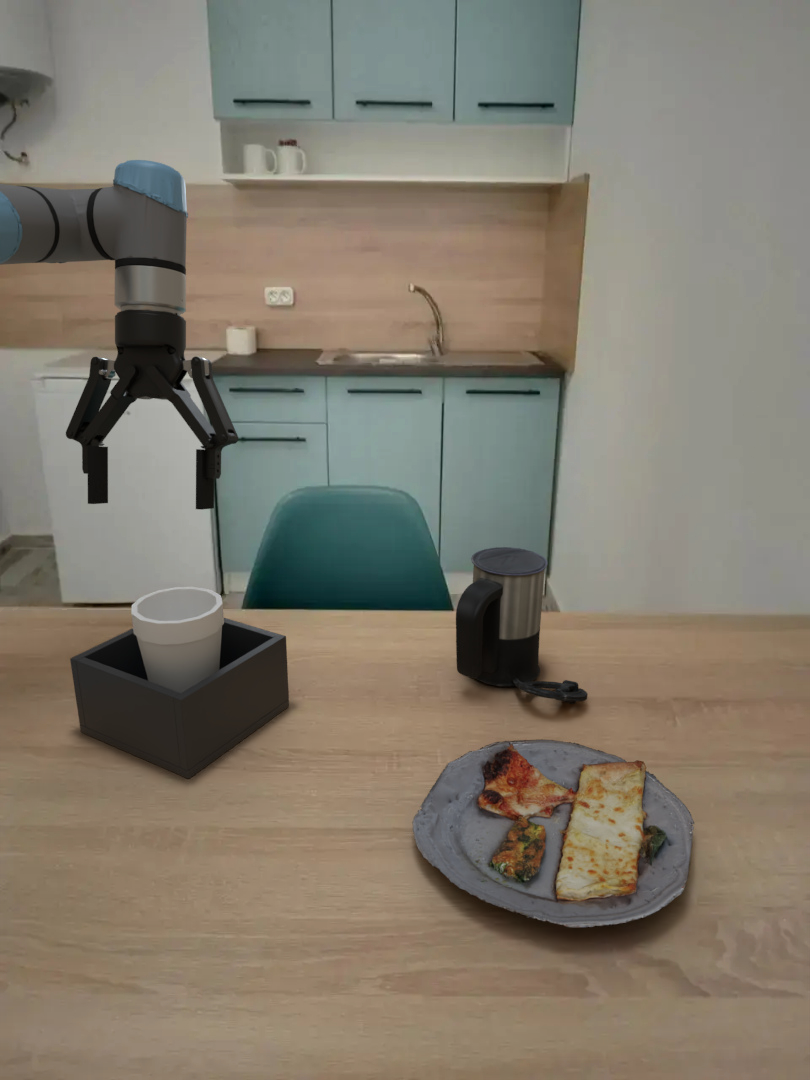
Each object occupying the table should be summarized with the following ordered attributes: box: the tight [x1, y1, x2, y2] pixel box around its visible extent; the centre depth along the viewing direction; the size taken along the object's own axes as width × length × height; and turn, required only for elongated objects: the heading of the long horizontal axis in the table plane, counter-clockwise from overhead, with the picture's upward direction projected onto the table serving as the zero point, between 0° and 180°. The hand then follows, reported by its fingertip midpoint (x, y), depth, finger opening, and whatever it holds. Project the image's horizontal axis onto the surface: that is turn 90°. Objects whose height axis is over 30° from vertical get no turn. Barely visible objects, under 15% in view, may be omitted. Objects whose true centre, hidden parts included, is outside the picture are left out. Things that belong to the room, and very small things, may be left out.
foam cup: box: [130, 586, 225, 693], centre depth 90 cm, size 10×9×13 cm
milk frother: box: [455, 546, 589, 705], centre depth 98 cm, size 14×16×15 cm
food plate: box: [412, 738, 695, 929], centre depth 74 cm, size 25×23×4 cm
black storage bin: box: [69, 617, 290, 780], centre depth 91 cm, size 16×16×9 cm
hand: (150, 506), depth 93 cm, fingers open, 13 cm apart
